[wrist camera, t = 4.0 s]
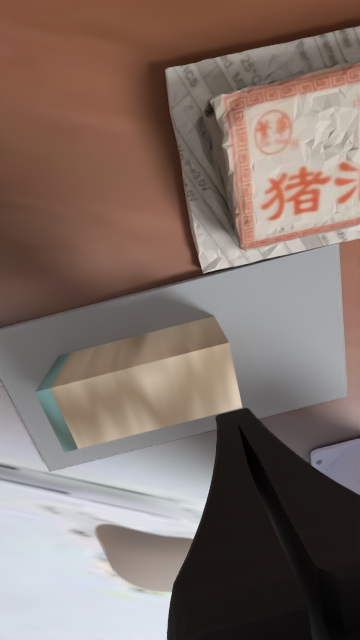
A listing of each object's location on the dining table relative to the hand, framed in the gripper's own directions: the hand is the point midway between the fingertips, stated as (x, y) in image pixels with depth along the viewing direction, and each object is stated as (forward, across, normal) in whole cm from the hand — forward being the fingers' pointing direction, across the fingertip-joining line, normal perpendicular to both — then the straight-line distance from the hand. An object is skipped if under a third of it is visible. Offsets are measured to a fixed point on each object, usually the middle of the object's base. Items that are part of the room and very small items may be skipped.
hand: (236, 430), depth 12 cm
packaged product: (+9, -10, -9) cm, 16 cm away
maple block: (+6, -1, 0) cm, 6 cm away
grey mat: (+8, +2, +1) cm, 9 cm away
